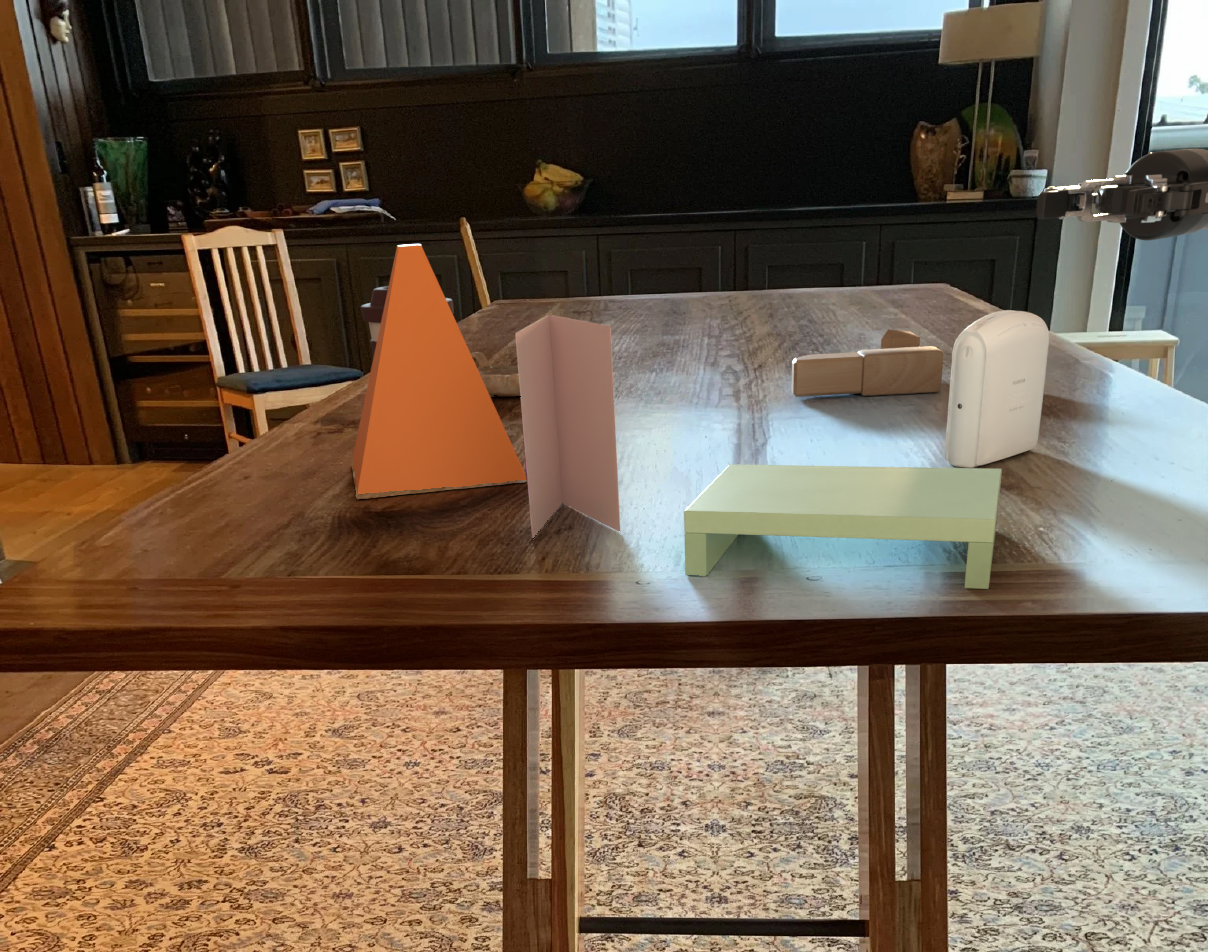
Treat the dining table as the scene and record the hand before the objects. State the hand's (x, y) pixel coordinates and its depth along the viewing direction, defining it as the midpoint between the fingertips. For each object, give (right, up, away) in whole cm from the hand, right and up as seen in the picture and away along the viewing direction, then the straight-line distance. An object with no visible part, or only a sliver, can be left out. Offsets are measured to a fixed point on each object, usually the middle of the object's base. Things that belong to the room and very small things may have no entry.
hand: (1084, 205), depth 106 cm
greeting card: (-44, -30, -9) cm, 54 cm away
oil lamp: (-55, -1, +48) cm, 73 cm away
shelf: (-25, -35, -21) cm, 48 cm away
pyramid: (-59, -21, +9) cm, 63 cm away
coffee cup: (-63, -11, +30) cm, 71 cm away
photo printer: (-7, -22, +3) cm, 23 cm away
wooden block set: (-11, -2, +41) cm, 42 cm away
